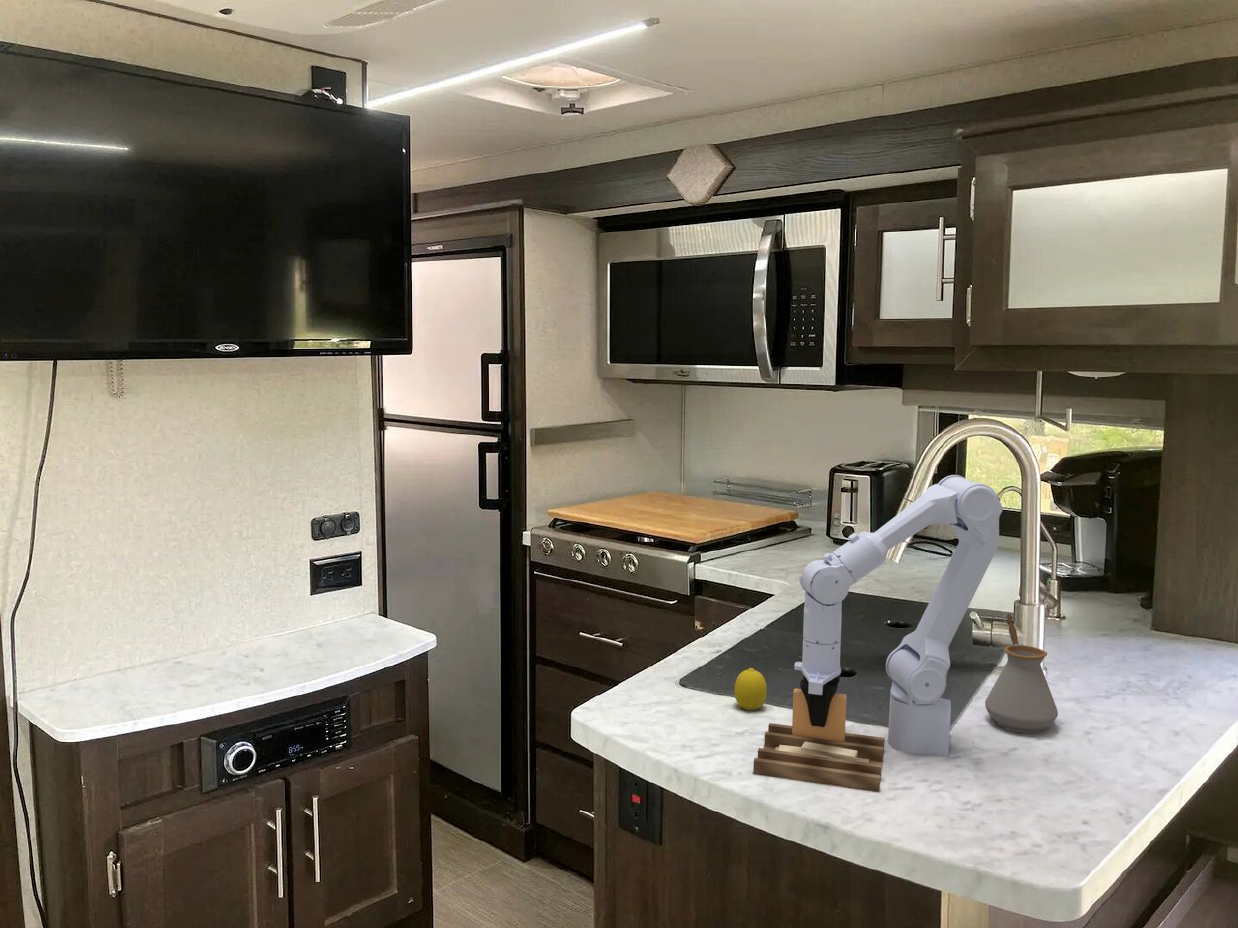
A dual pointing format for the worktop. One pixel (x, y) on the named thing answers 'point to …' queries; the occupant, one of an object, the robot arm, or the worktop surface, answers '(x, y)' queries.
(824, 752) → the offcut stack
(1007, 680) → the coffee pot
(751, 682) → the lemon
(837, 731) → the orange square slab
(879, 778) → the rack
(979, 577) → the robot arm
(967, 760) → the worktop surface
